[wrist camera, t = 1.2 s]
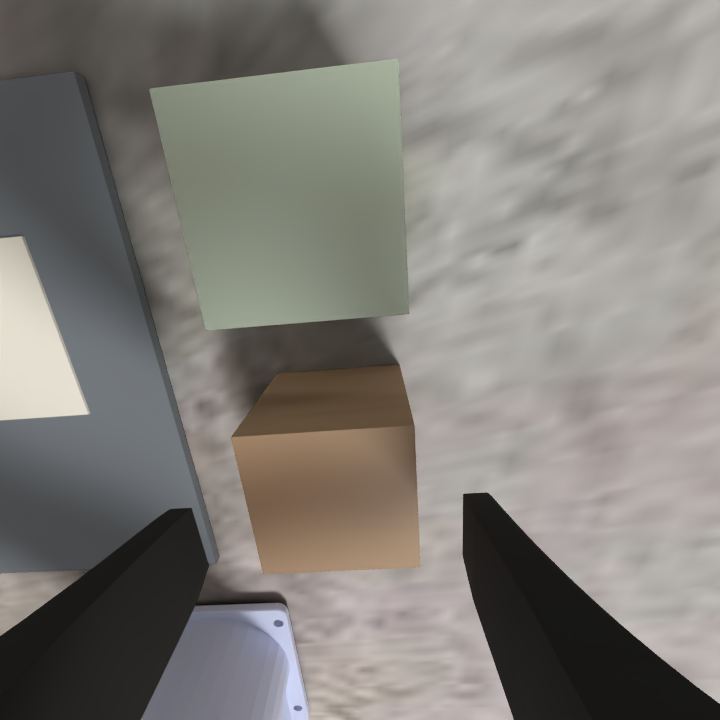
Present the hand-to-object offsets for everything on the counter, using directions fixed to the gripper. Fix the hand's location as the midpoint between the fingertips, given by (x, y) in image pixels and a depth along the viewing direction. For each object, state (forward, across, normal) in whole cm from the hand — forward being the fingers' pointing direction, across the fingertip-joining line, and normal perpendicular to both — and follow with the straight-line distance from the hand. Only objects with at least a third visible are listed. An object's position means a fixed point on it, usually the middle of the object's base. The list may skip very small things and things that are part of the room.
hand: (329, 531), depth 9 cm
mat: (+6, +14, -3) cm, 16 cm away
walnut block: (+6, 0, 0) cm, 6 cm away
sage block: (+6, 0, -8) cm, 10 cm away
